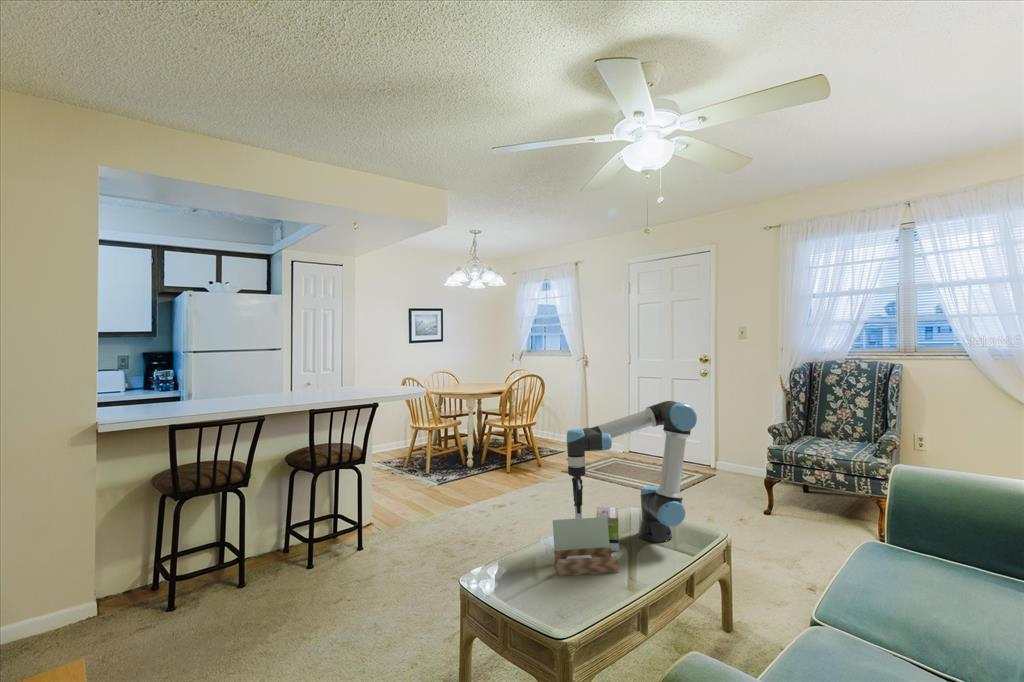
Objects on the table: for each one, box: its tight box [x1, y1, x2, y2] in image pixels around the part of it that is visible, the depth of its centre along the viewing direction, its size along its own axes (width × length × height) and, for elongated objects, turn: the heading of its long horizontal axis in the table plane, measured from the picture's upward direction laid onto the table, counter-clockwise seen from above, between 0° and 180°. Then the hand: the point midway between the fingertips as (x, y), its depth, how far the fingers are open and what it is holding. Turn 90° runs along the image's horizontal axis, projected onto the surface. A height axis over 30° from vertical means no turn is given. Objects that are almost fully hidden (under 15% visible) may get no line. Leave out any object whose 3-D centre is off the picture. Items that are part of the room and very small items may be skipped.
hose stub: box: [566, 555, 592, 559], centre depth 199 cm, size 11×3×3 cm, turn 93°
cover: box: [552, 517, 610, 551], centre depth 204 cm, size 24×12×1 cm
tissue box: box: [553, 547, 619, 577], centre depth 196 cm, size 24×12×5 cm, turn 93°
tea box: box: [595, 506, 620, 552], centre depth 219 cm, size 15×10×15 cm, turn 168°
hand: (578, 520), depth 208 cm, fingers closed
